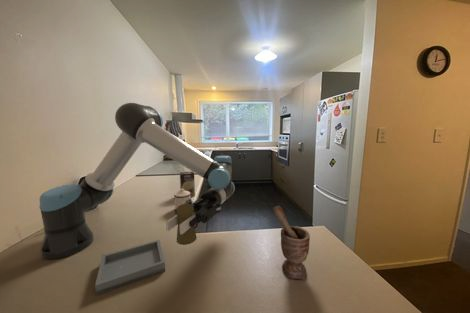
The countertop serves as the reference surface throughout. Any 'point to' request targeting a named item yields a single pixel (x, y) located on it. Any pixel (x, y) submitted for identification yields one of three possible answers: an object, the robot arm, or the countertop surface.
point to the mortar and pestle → (293, 246)
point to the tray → (129, 266)
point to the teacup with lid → (181, 197)
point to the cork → (183, 214)
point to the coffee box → (187, 182)
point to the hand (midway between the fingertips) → (173, 227)
